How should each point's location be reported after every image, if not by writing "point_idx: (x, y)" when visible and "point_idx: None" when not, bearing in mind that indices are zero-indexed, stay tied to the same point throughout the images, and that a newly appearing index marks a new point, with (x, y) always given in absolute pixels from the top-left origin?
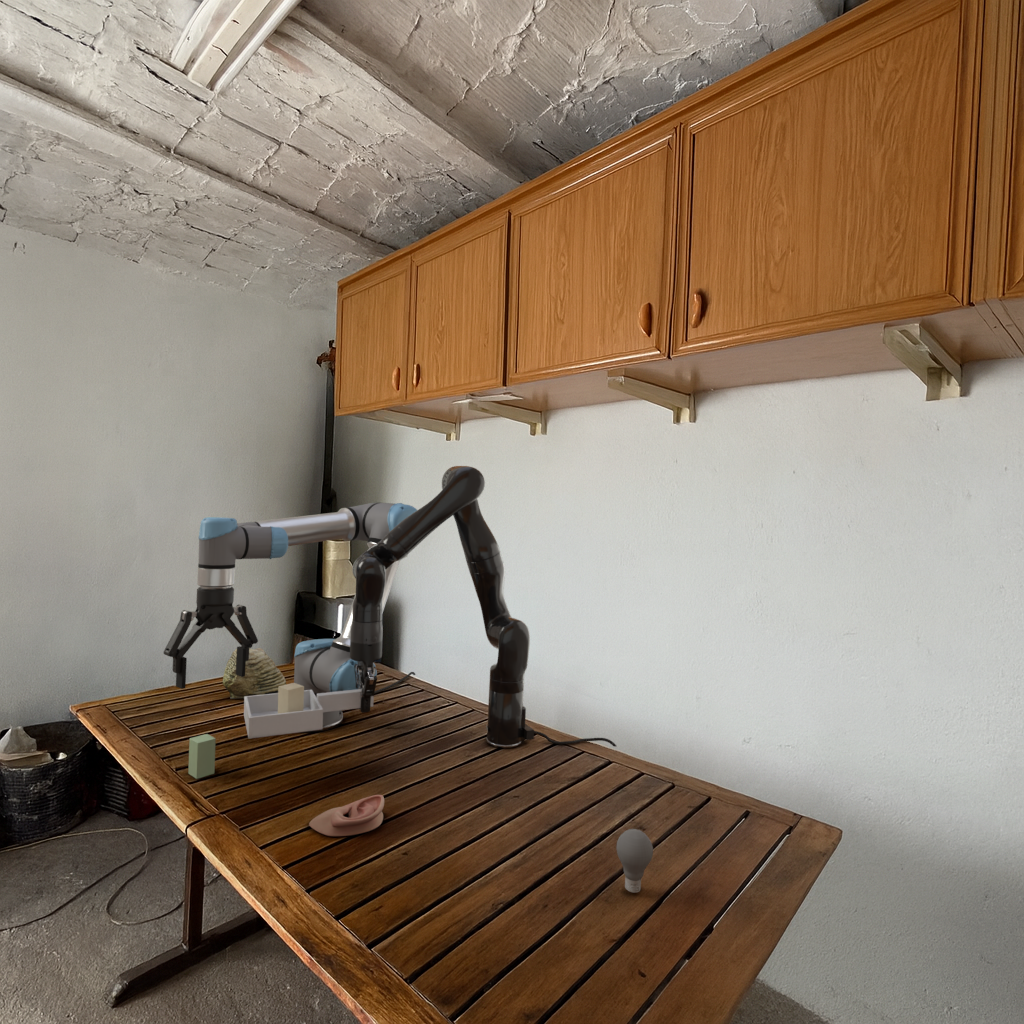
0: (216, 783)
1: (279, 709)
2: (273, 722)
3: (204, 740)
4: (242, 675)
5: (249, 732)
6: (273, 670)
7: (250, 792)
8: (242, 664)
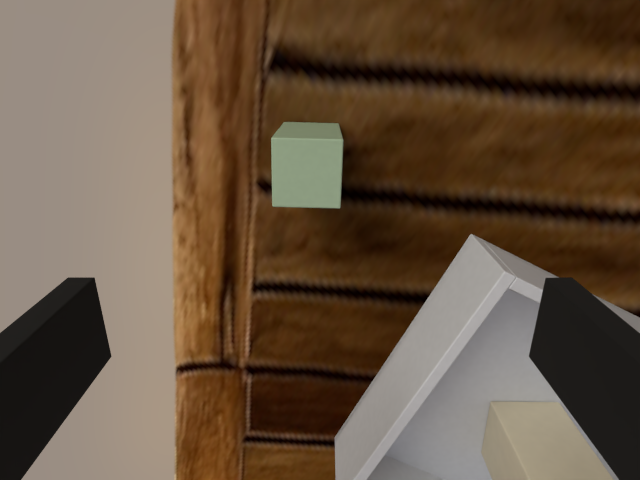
0: (309, 237)
1: (507, 451)
2: None
3: (301, 200)
4: (537, 362)
5: (336, 456)
6: None
7: (340, 333)
8: (582, 427)
